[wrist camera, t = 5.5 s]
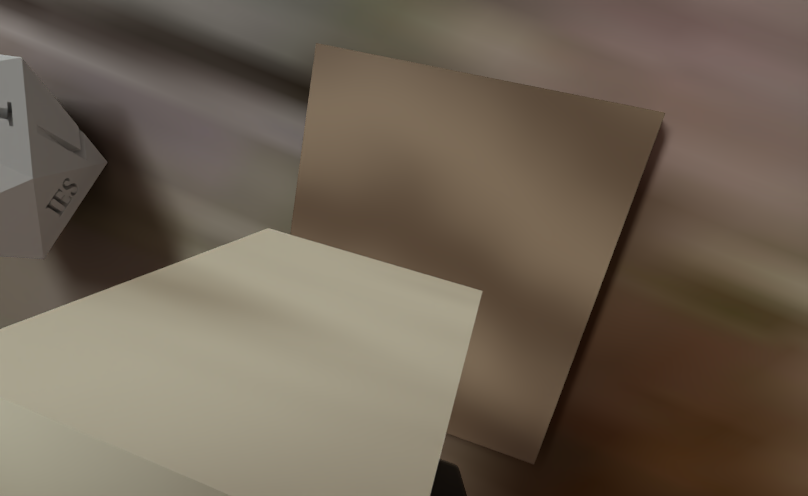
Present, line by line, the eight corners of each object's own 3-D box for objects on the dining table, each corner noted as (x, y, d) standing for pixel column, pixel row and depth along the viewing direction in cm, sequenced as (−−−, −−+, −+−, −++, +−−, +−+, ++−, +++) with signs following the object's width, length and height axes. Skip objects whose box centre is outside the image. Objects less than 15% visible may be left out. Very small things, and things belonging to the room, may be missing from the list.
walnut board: (533, 451, 19) (534, 464, 18) (280, 362, 21) (271, 370, 20) (658, 113, 15) (665, 112, 14) (325, 47, 17) (316, 43, 16)
